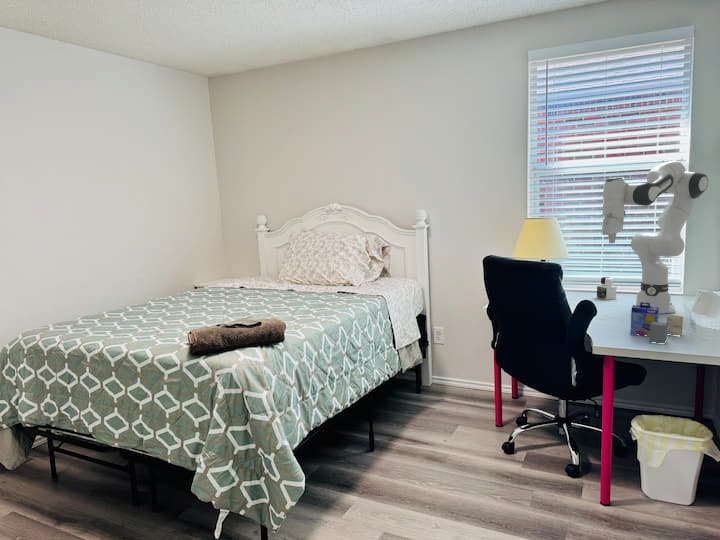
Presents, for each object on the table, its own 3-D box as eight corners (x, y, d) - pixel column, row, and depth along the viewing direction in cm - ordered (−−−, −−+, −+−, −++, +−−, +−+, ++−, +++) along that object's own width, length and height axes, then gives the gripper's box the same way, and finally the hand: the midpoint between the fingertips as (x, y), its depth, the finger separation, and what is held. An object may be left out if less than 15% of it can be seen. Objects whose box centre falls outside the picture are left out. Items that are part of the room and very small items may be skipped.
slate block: (652, 340, 205) (653, 321, 204) (666, 342, 202) (667, 322, 201) (649, 343, 202) (650, 323, 200) (663, 345, 198) (664, 325, 197)
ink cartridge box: (629, 335, 213) (631, 301, 211) (631, 331, 218) (632, 299, 215) (656, 338, 208) (658, 304, 205) (657, 334, 212) (659, 301, 210)
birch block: (668, 332, 214) (669, 314, 213) (681, 334, 211) (683, 316, 210) (665, 335, 211) (666, 317, 209) (679, 337, 207) (680, 318, 206)
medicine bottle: (596, 297, 285) (597, 277, 283) (606, 296, 287) (607, 276, 285) (606, 300, 278) (606, 279, 276) (616, 298, 280) (617, 277, 278)
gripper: (614, 214, 218) (612, 245, 220) (626, 211, 233) (625, 241, 236) (598, 214, 223) (597, 245, 225) (612, 211, 238) (610, 240, 240)
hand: (612, 243), depth 230 cm, fingers closed
